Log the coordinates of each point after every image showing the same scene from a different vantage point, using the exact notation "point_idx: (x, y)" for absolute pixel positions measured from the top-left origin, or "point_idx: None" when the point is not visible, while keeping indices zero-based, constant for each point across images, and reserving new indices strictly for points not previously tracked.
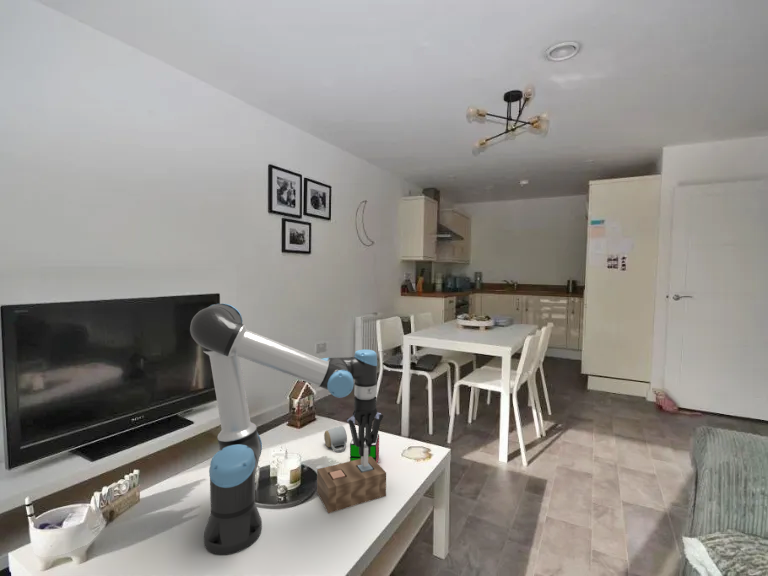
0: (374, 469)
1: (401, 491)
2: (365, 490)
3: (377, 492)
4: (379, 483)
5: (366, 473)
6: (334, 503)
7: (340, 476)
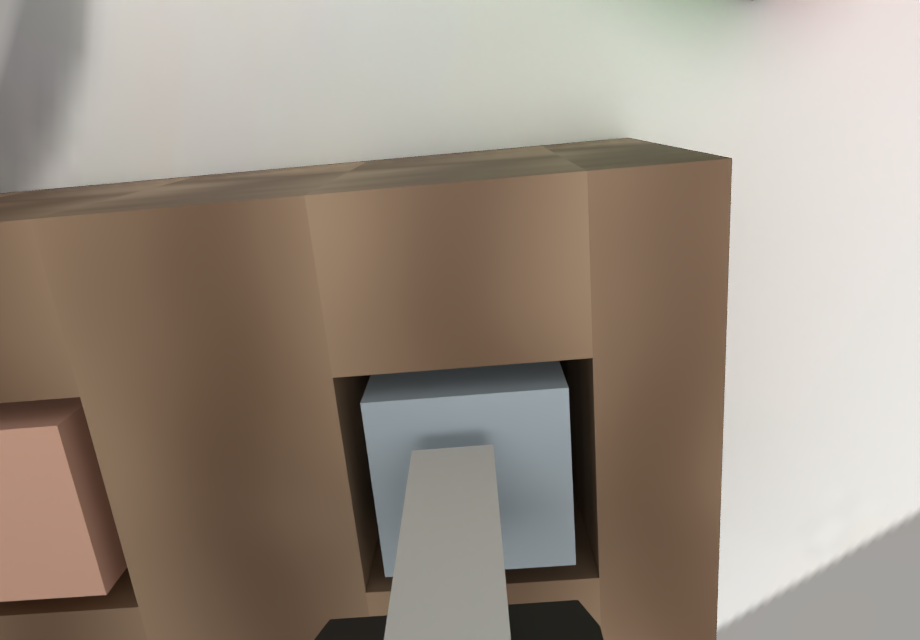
0: (590, 581)
1: (808, 490)
2: None
3: None
4: None
5: None
6: None
7: (32, 594)
